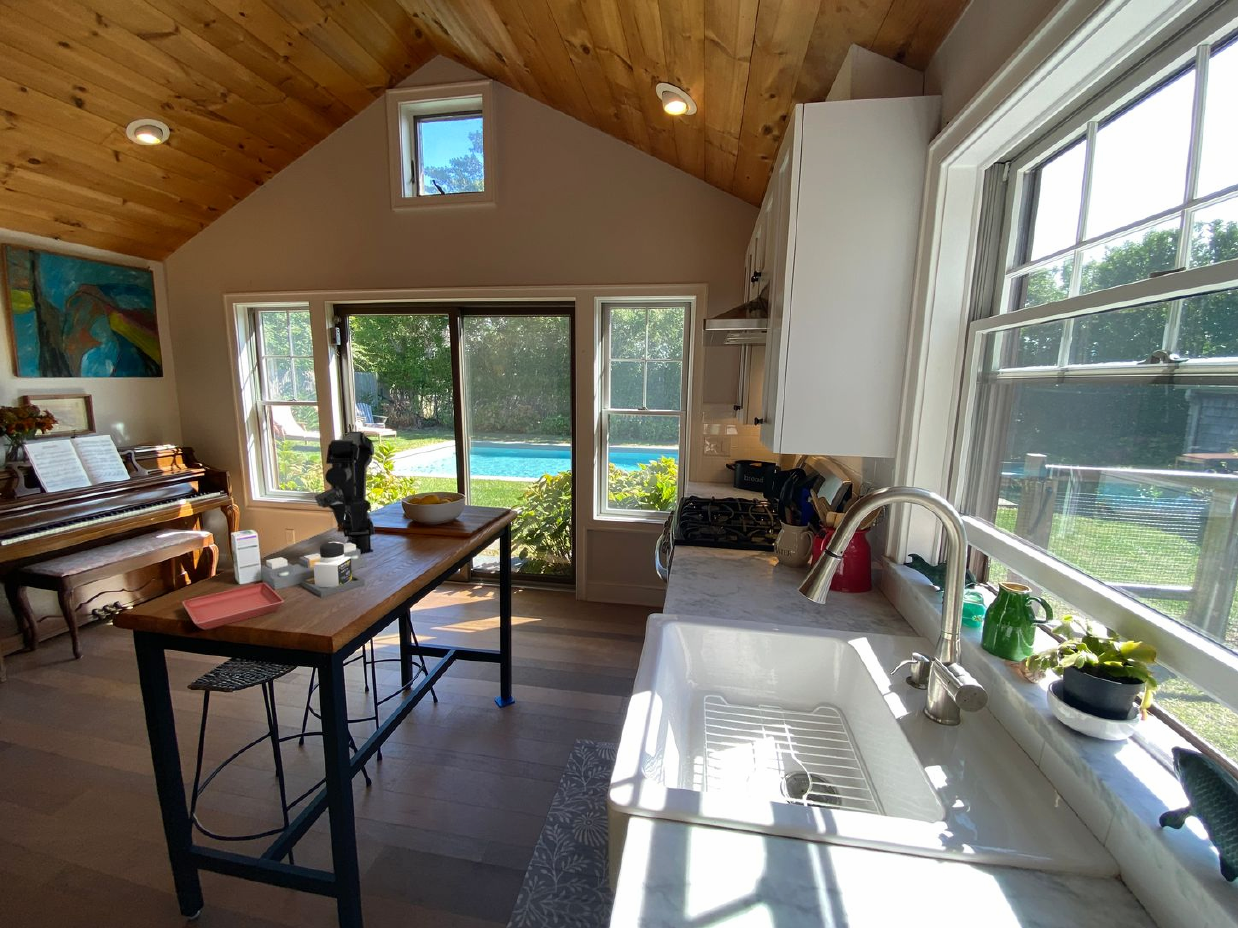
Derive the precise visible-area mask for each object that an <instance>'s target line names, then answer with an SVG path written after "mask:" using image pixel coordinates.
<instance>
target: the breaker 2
mask: <svg viewBox="0 0 1238 928" xmlns="http://www.w3.org/2000/svg"><path fill="white" fill-rule="evenodd" d="M343 544H344V553H345V552H349V551H354V550H356V545H355V544H352V543H347V542H346V543H343Z"/></svg>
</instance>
